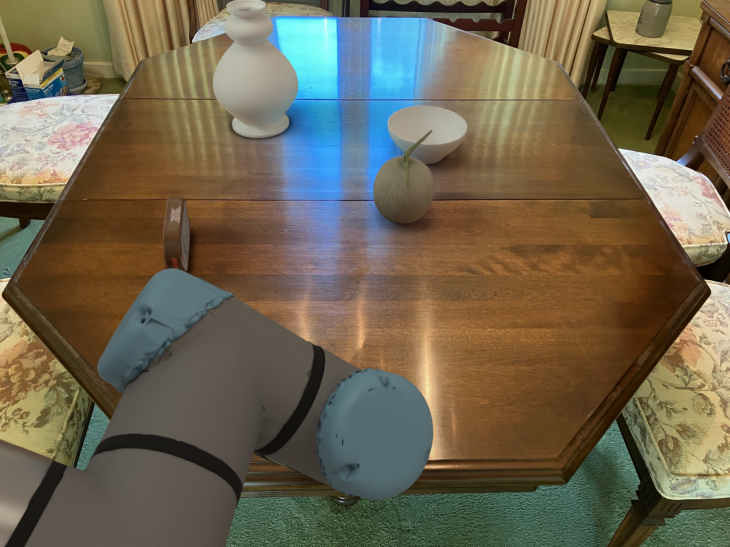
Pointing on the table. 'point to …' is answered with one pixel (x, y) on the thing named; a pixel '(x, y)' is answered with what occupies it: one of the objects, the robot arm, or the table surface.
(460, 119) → the bowl
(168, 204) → the tin
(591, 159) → the table surface
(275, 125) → the decorative vase
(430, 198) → the fruit
